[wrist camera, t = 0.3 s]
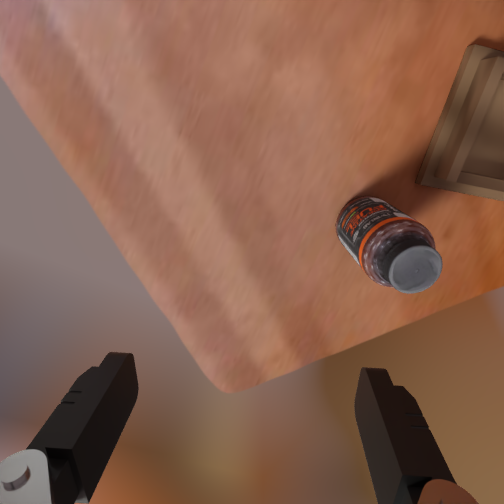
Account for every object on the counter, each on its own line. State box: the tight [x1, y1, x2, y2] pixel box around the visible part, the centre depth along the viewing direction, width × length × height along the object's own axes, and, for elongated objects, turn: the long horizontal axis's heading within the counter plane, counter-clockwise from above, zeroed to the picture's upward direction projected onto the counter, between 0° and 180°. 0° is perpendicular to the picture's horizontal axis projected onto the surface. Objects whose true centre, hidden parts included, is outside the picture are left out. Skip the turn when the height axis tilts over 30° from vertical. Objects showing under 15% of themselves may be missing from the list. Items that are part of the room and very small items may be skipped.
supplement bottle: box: [336, 196, 442, 293], centre depth 29 cm, size 6×6×11 cm
